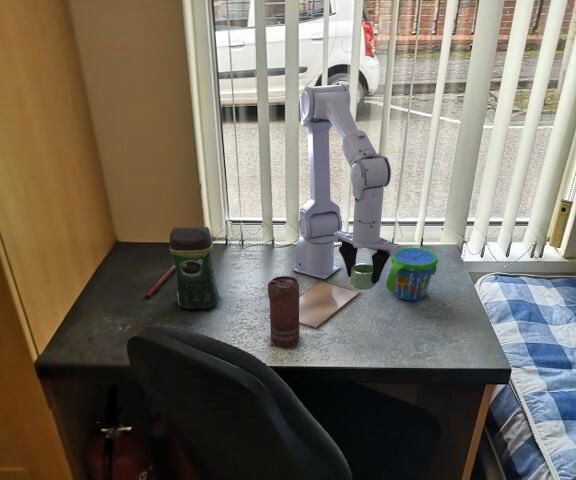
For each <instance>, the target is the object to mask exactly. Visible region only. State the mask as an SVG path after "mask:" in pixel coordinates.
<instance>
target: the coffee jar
mask: <svg viewBox="0 0 576 480" xmlns="http://www.w3.org/2000/svg"><path fill="white" fill-rule="evenodd" d="M211 234H212V233H211V230H210V228H209V227H208V226H203V227H202V226H201V227H173V228H172V229H171V231H170V233H169V252H170V254H171V255H172V257H173V260H174V265H175V275H176V298H177V304H178V307H180V308H181V309H183V310H190V311H191V310H208V309H212V308H214V307H215V306H217V304H218V303H219V297H220V296H219V291H218V286H217V281H216V277H215V273H214V268H213V261H212V251H213V247H214V241H213V238H212V235H211Z"/></svg>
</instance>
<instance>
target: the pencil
mask: <svg viewBox="0 0 576 480" xmlns="http://www.w3.org/2000/svg"><path fill="white" fill-rule="evenodd" d="M175 270H176V267H175V264H173V265H172V266H171V267H170V268H169V269H167V271H166V272H165V273H164V274H163V275H162V276H161V278H160V279H158V281H157V282H156V283H155V284H154V285H153V286H152V287H151V289H149V290H148V292H147V293H146V294H145V298H147V299H150V297H151V296H152V295H153V294H154V293H155V292H156V290H157V289H159V287H160V286H161V285H162V284H163V283H164V282H165V281H166V279H168V277H169V276H170V275H171V274H172V273H173V272H174V271H175Z"/></svg>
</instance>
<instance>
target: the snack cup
mask: <svg viewBox="0 0 576 480" xmlns="http://www.w3.org/2000/svg"><path fill="white" fill-rule="evenodd" d="M390 261H391V263H392V265H391V267H390V270H389V272H388V275H387V279H386V283H385V287H386V289H387V290H388V291H389V292H391V293H394V295H395V296H396V297H397V298H398V299H399V300H404V301H411V302H412V301H413V302H416V301H420V300H423V298H424V297H425V296H426V294H427V291H428V289H429V285H430V282H431V279H432V275H433V276H434V275H435V274H436V273H437V264H438V263H439V259H438V257H437V255H436V253H434V252H433V251H431V250H428V249H425V248H420V247H403V248H399V251H398V254H397V255H395V256H391V255H390Z"/></svg>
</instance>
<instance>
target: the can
mask: <svg viewBox="0 0 576 480" xmlns="http://www.w3.org/2000/svg"><path fill="white" fill-rule="evenodd" d="M267 296H268V299H269V323H270V325H269V326H270V327H269V328H270V341H271V342H272V344H273V345H274V346H275V347H277V348H282V349H288V348H292V347H295V346H296V345H297V344H298V343H299V342H300V323H299V297H300V283H299V282H298V279H297V278H295V277H293V276H289V275H281V276H276V277H274V278H272V279H271V280H269V281H268V283H267Z"/></svg>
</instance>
